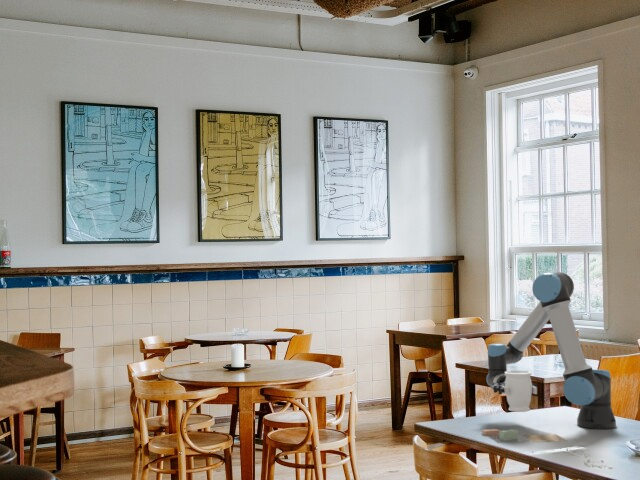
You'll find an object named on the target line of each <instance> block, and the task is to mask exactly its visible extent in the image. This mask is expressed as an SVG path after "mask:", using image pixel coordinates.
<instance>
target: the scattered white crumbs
mask: <svg viewBox="0 0 640 480" xmlns="http://www.w3.org/2000/svg"><path fill="white" fill-rule="evenodd" d="M567 452H568V453H569V454H570V455H572V456H577V457H579V458H580V455H579V454H578V453H580V451H579V450H578V451H577V453H575V452H574V451H572V450H569V448H566V453H567ZM572 452H573V453H572ZM582 452H583V453H582ZM582 452H581V455H583V456H584V458H586V460H583V461H582V463H584V465H585V466H588V467H591V466H592V467H593V468H594V467H595V465H594V464H595V461H592V464H591V465H590V463H591V461H590V460H591V458H589V456H590V453H585V448H583V449H582ZM601 462H602V463H604V460H603V459H602V458H601V459H600V463H601ZM596 463H599V461H598V460H597V461H596ZM596 467H597V468H600V469H602V467H603V468H604V469H605V468H606V467H608V469H613V466H609V465H607V464H606V466H603V464H601V465H599V464H596Z"/></svg>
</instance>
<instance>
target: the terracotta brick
mask: <svg viewBox="0 0 640 480" xmlns="http://www.w3.org/2000/svg"><path fill="white" fill-rule="evenodd" d="M481 430H482V432H481V434H482V435H483V436H499V431H501V430H500V429H497V428H491V429H481Z"/></svg>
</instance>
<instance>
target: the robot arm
mask: <svg viewBox="0 0 640 480" xmlns="http://www.w3.org/2000/svg"><path fill="white" fill-rule="evenodd" d="M531 288H532V295H533V296H534V297H535V298H536V300H537V301H539V302H538V304H537V305H536V306H535V307H534V309H533V310H532V311H531V312H530V314H529V315H528V316H527V318H526V319H525V321H524V322H523V323H522V324H521V326H520V327H519V329H518V330H517V331H516V332H515V333H514V334H513V336H512V337H511V339H510V340H509V341H508V343H507V344H505V343H490V344H488V347H487V361H488V365H487V366H488V374H487V375H486V383H487V385H488V386H489V387H490V388H491V389H492V390H493V393H497V392H498V395H500V396H501V395H503V394H504V395H509V388H507V387H505V379H506V375H505V372H507V365H511V364H516V363H518V362H520V361H522V359H523V357H524V352H525V351H526V350H527V348H528V347H529V346H531V345H530V344H531V343H533V341H534V340H535V338H536V337H537V336H538V335H539V334H540V332H541V331H542V330H543V328H544V327H545V325H547V323H548V321H550V325H551V328H552V331H553V336H554V339H555V340H556V343H557V347H558V351H559V353H560V356H561V361H562V363H563V367H564V371H563V373H562V377H563V380H564V383H563V387H562V391H563V394H564V396H565V398H566V399H567V401H568V402H570V403H571V404H573V405H575V406H580V410H579V412H578V415H577V418H576V425H577V426H579V427H580V428H586V429H595V430H596V429H598V430H601V429H603V430H607V429H614V428H616V427H617V420H616V417H615V415H614V412H613V409H612V391H611V390H612V385H611V383H612V381H611V380H612V377H611V372H610V371H609V370H607V369H595V368H594V369H593V367H592V366H591V365H589V364H588V363H587V361H586V357H585V355H584V352H583V351H584V350H583V348H582V346H581V342H580V339H579V336H578V333H577V329H576V326H575V323H574V320H573V316H572V313H571V310H570V304H571V296H572V295H573V293H574V290H575V283H574V281H573V278H571V276H569V274H567V273H565V272H559V271H557V272H550V271H549V272H544V273H541V274H540V275H537V277H536V278H535V279H534V281H533V283H532V287H531ZM538 391H539V390H538V384H537V383H535V384H534V382H532V394H533V395H538Z"/></svg>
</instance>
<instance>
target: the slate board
mask: <svg viewBox="0 0 640 480" xmlns="http://www.w3.org/2000/svg"><path fill="white" fill-rule="evenodd" d="M488 437H489V438H490V439H491V440H493V441H495V443H497V444H504V443H505V444H507V443H512V444H513V443H529V442H530V441H529V440H527V439H526V438H524V437H522V436H521V435H519V434H517V439H513V440H501V439H499V435H488Z"/></svg>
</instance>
